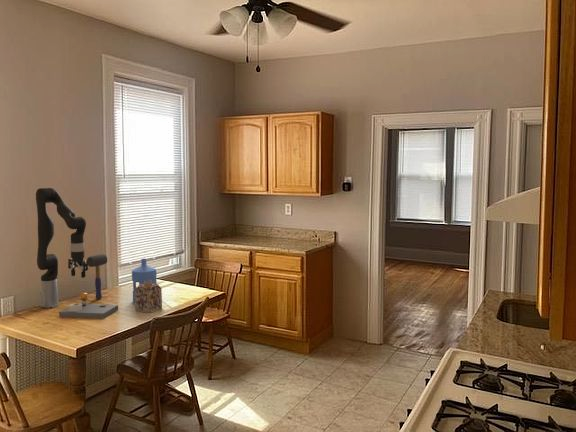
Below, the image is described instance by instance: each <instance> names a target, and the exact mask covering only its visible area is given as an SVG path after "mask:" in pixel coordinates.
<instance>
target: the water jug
mask: <svg viewBox="0 0 576 432" xmlns="http://www.w3.org/2000/svg"><path fill="white" fill-rule="evenodd" d="M140 260H141V262H140V263H141V265H139V266H137V267H135V268H133V269H132V270H131V280H132V286H133V287H132V288H133V289H132V302H133V303H134V304H135V289H136V288H137V283H138V285H140V284H143V283H144V282H145V281H152V283H157V282H158V281H157V275H158V273H157V269H156V268H155V267H152V266H150V265H148V264H147V258H141V259H140ZM157 284H158V283H157Z"/></svg>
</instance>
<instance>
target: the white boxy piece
mask: <svg viewBox="0 0 576 432" xmlns="http://www.w3.org/2000/svg"><path fill="white" fill-rule="evenodd" d="M67 308H68V311H71V312H78V311H80V310H82V303H74V302H73V303H71V304H68V305H67Z"/></svg>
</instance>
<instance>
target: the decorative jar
mask: <svg viewBox="0 0 576 432" xmlns="http://www.w3.org/2000/svg"><path fill="white" fill-rule="evenodd" d="M162 295H163V293H162V287H161V286H160V285H159V284H158V283H152V281H145V282H144V283H143V284H140V285H139V284H138V285H137V286H136V289H135V303H134V305H135V311H136V312H138V313H139V312H140V313H146V314H151V313H153V312H157V311H160V310H162V309H163V296H162Z"/></svg>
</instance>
